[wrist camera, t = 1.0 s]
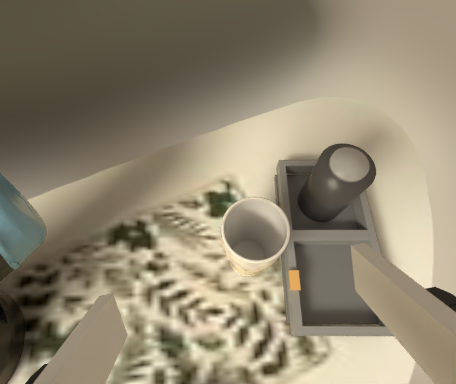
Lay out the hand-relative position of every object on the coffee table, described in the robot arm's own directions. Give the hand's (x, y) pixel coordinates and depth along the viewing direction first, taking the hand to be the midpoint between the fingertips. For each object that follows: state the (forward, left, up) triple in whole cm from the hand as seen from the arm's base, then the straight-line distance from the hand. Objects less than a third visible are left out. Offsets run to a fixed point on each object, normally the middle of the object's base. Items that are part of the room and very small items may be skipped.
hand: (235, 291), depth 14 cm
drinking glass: (+2, +6, -24) cm, 25 cm away
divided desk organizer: (+14, +9, -24) cm, 29 cm away
